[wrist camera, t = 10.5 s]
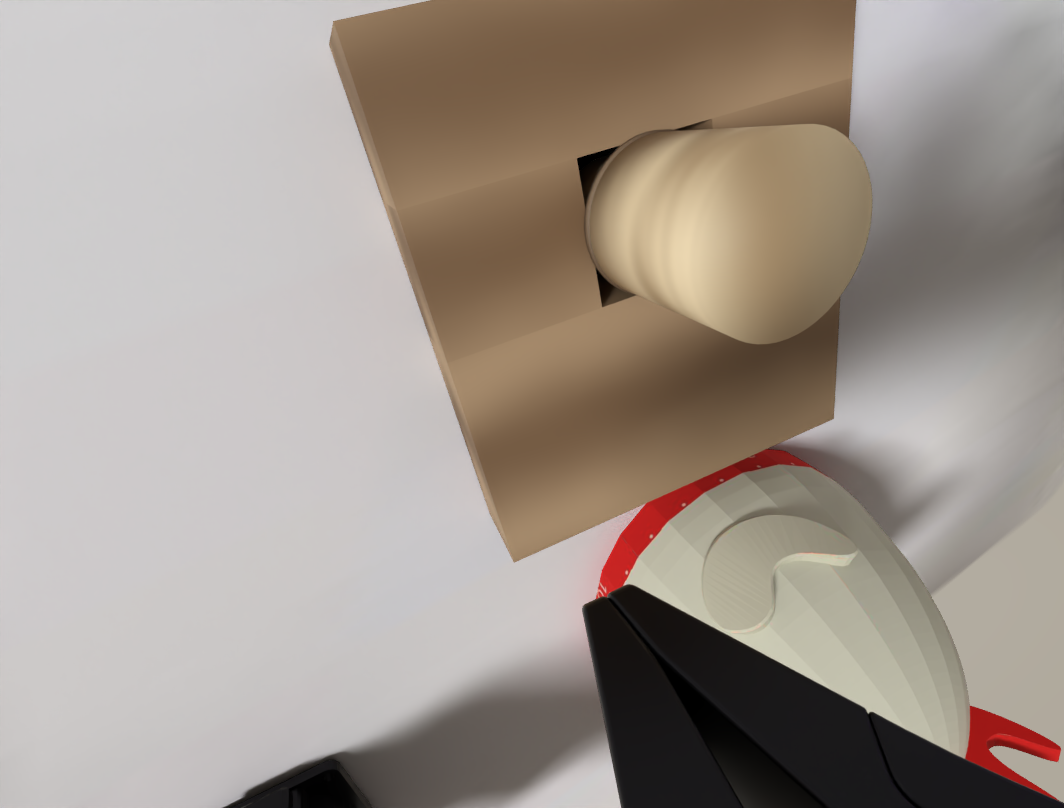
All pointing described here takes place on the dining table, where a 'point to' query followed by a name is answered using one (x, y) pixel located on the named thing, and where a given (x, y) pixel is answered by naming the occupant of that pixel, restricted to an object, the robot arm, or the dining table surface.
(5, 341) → the dining table surface
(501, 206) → the board
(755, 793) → the robot arm
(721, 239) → the peg
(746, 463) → the kitchen timer
